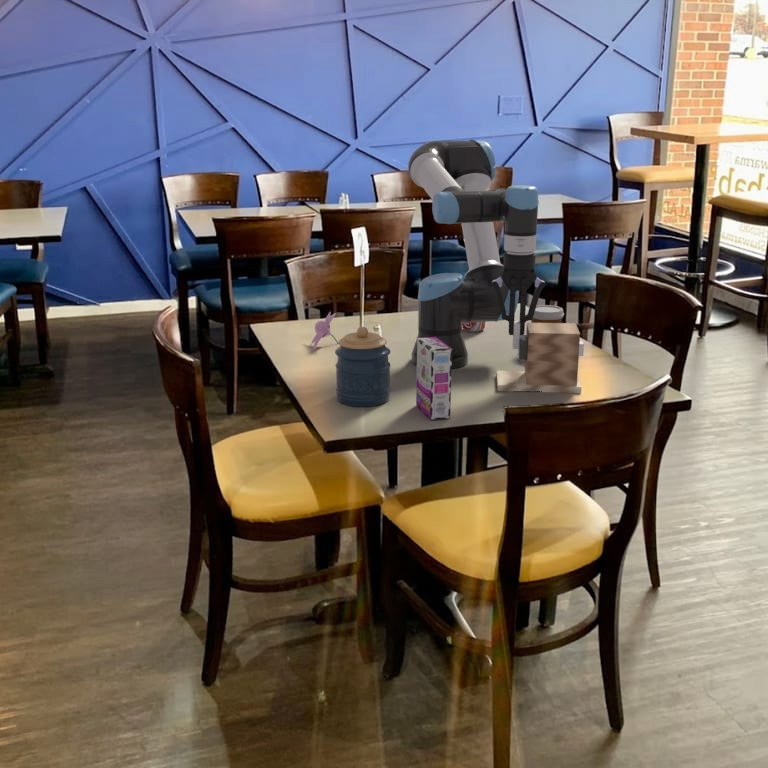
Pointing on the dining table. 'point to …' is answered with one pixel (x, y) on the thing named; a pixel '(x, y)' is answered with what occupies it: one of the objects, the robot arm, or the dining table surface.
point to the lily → (323, 329)
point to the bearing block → (547, 361)
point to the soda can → (473, 326)
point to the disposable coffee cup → (547, 314)
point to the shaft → (524, 347)
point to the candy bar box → (433, 378)
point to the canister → (362, 369)
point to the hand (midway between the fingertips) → (515, 347)
